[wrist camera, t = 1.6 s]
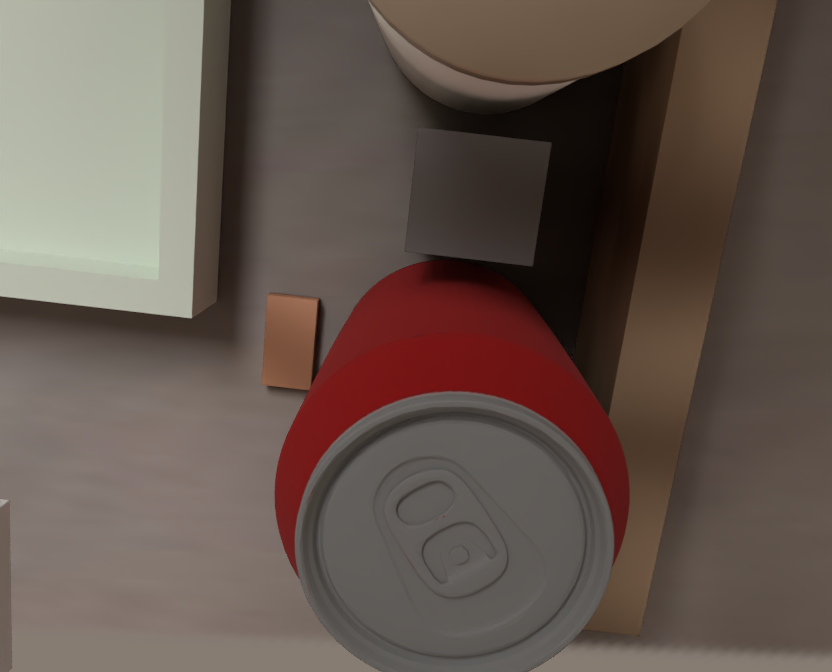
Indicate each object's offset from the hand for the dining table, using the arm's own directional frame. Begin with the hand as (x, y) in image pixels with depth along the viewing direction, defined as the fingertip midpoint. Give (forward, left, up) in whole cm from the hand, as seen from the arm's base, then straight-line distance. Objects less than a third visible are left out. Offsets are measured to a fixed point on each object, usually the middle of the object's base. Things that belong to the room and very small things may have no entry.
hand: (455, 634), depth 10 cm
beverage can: (0, 0, -14) cm, 14 cm away
